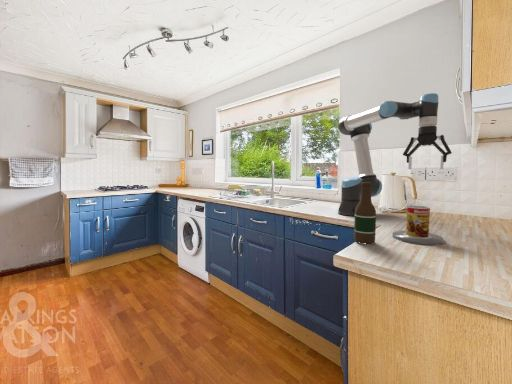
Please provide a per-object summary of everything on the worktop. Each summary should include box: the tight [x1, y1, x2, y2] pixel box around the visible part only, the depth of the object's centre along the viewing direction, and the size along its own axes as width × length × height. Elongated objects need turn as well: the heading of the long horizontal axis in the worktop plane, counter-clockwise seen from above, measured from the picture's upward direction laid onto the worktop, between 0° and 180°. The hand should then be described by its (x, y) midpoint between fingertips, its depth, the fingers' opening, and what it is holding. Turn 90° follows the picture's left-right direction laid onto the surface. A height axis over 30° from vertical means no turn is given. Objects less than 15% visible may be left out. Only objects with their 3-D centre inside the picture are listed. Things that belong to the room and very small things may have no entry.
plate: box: [392, 229, 445, 246], centre depth 104 cm, size 18×18×1 cm
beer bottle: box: [353, 182, 377, 245], centre depth 99 cm, size 8×8×24 cm
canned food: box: [405, 205, 431, 238], centre depth 104 cm, size 8×8×12 cm
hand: (425, 169), depth 127 cm, fingers open, 13 cm apart
